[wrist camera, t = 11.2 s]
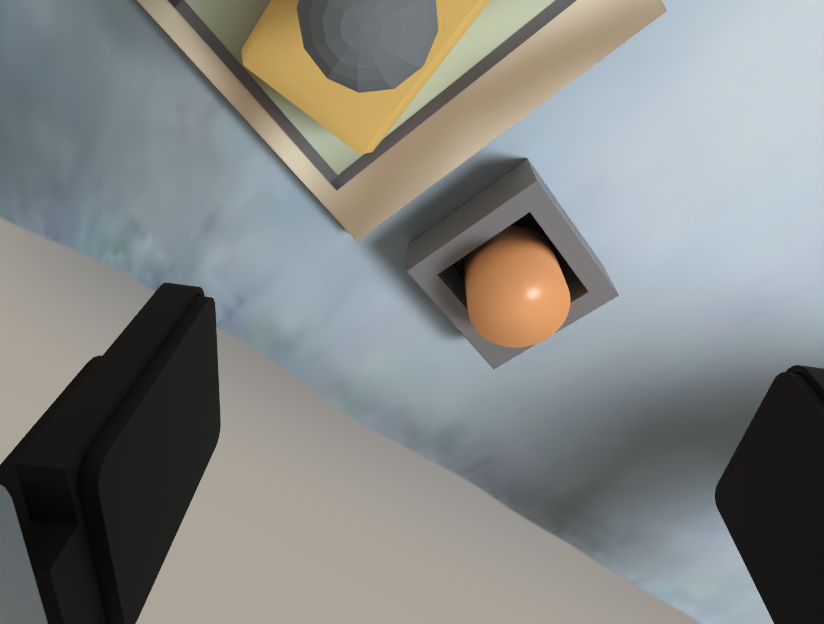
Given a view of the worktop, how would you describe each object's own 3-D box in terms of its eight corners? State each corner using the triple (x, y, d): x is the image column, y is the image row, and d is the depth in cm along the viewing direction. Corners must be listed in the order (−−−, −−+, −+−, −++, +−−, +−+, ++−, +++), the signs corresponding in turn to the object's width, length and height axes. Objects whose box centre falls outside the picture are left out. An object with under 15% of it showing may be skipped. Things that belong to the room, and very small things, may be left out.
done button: (573, 275, 30) (589, 313, 27) (497, 322, 31) (504, 363, 28) (523, 207, 28) (534, 240, 25) (445, 261, 29) (447, 297, 26)
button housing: (603, 265, 31) (618, 295, 28) (488, 336, 33) (493, 369, 31) (527, 158, 28) (537, 180, 26) (408, 243, 30) (406, 271, 28)
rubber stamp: (373, 135, 26) (338, 259, 16) (258, 44, 25) (137, 121, 14) (536, -78, 22) (627, -91, 12) (412, -206, 20) (395, -349, 10)
